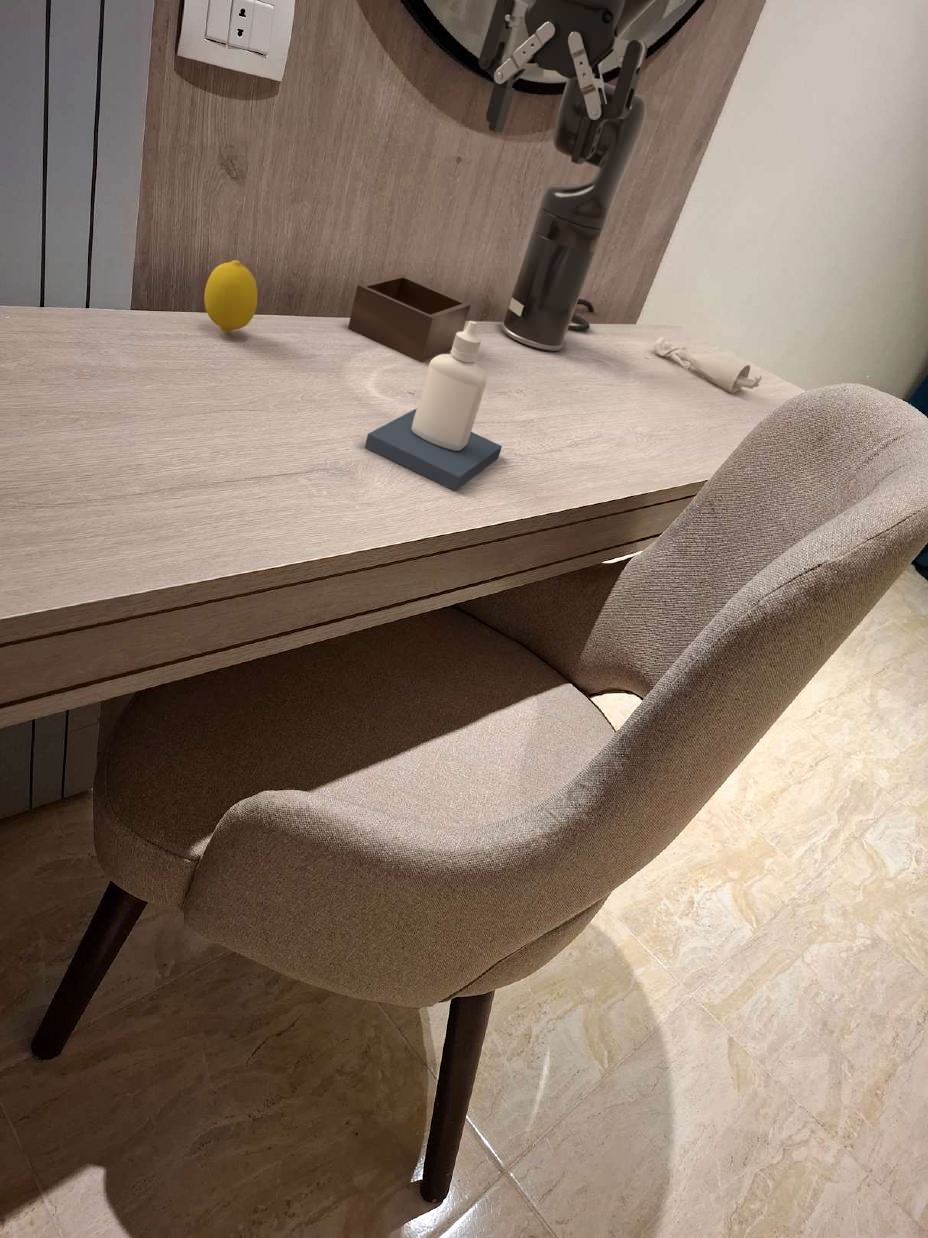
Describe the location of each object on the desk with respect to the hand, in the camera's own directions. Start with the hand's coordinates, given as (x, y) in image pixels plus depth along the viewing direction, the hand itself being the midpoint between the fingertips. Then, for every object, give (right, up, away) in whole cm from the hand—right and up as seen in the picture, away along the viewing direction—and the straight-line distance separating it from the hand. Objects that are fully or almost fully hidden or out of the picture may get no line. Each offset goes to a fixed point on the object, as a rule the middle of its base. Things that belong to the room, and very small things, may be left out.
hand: (535, 146), depth 84 cm
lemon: (-33, -12, +16) cm, 39 cm away
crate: (-14, -8, +33) cm, 36 cm away
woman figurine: (+31, -5, +60) cm, 67 cm away
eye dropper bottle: (-9, -26, +6) cm, 28 cm away
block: (-10, -27, +6) cm, 30 cm away
